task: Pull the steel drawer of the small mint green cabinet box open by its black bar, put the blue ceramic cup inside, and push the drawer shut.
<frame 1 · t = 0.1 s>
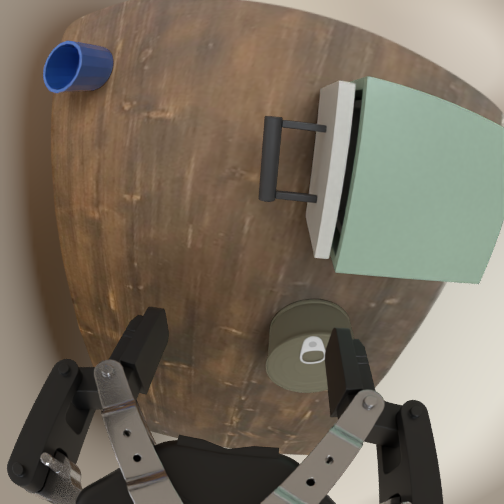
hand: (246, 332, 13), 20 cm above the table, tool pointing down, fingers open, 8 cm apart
drawer: (372, 170, 23), point 5 cm above the table, slide at 0.5 cm
can: (310, 329, 39), on the table
cup: (93, 68, 24), on the table
mint green cabinet box: (396, 167, 27), on the table
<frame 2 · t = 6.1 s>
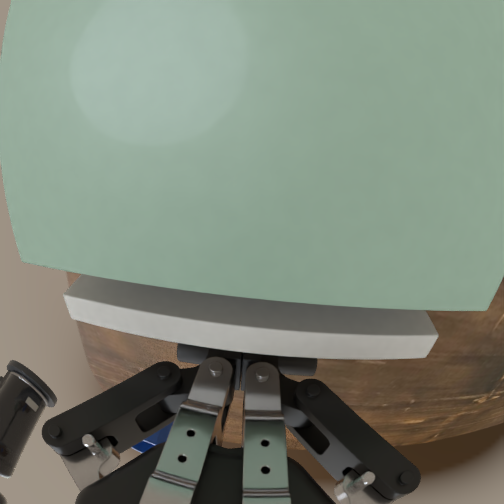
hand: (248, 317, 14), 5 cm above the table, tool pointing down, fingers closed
drawer: (264, 170, 11), point 5 cm above the table, slide at 1.8 cm
cup: (160, 406, 30), on the table
mint green cabinet box: (276, 47, 12), on the table
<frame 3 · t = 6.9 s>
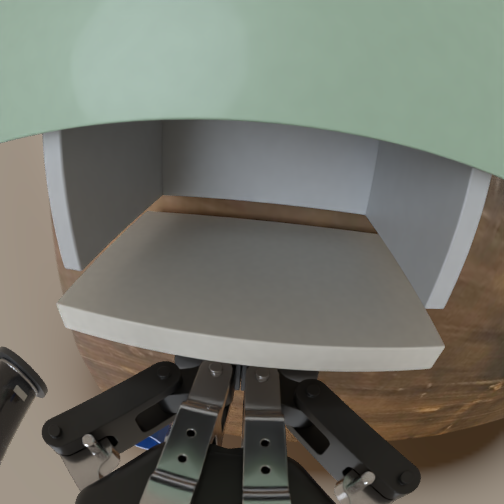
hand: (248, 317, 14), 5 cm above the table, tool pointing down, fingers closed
drawer: (264, 173, 10), point 5 cm above the table, slide at 5.8 cm, touching gripper
cup: (153, 392, 27), on the table
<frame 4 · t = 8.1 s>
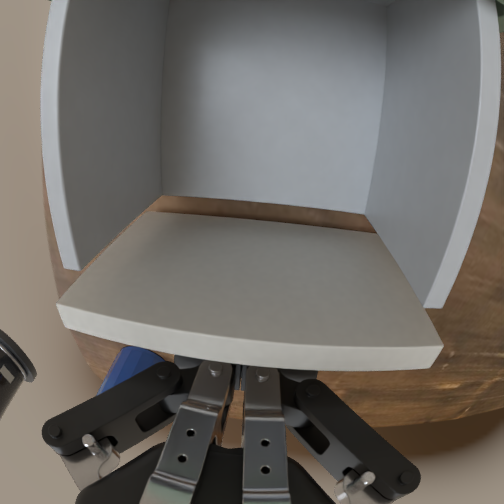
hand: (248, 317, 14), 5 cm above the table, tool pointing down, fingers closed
drawer: (262, 173, 10), point 5 cm above the table, slide at 10.8 cm
cup: (145, 365, 25), on the table
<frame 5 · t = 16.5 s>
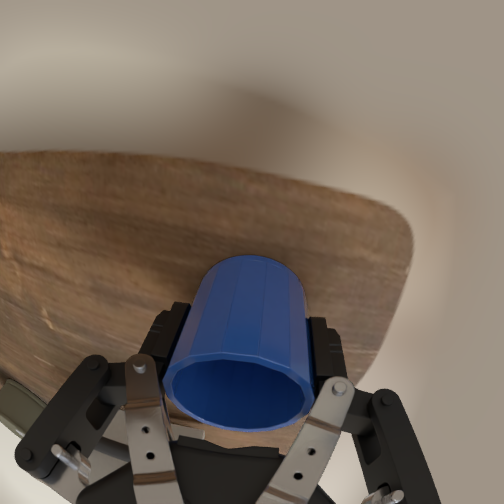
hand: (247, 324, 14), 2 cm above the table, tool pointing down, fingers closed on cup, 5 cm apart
drawer: (134, 467, 20), point 5 cm above the table, slide at 10.9 cm
can: (33, 401, 31), on the table
cup: (251, 301, 15), on the table, touching gripper
when the fingers open (8 cm above the table, at t = 23.6 s): cup drops 5 cm, resting on drawer.
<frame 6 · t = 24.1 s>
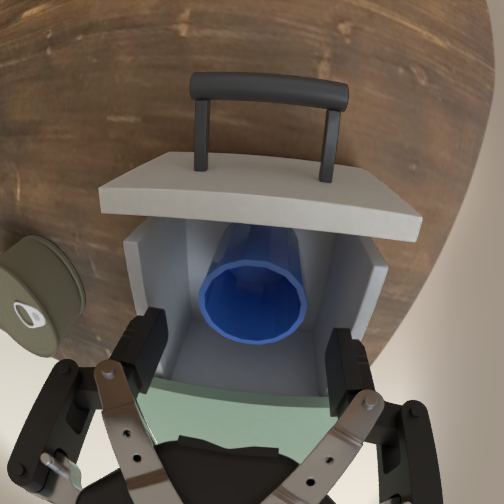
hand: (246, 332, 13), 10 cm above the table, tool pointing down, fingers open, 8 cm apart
drawer: (257, 253, 17), point 5 cm above the table, slide at 10.9 cm, touching cup
can: (48, 278, 27), on the table
cup: (259, 251, 20), point 2 cm above the table, touching drawer
mint green cabinet box: (250, 355, 29), on the table
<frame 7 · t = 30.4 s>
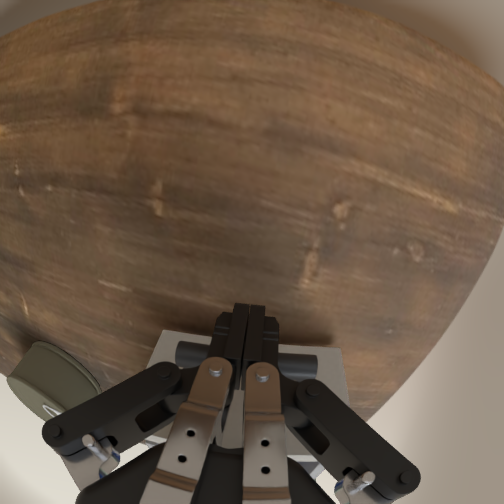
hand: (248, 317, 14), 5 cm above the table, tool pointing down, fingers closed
drawer: (242, 422, 19), point 5 cm above the table, slide at 10.7 cm, touching cup, gripper
can: (65, 371, 29), on the table
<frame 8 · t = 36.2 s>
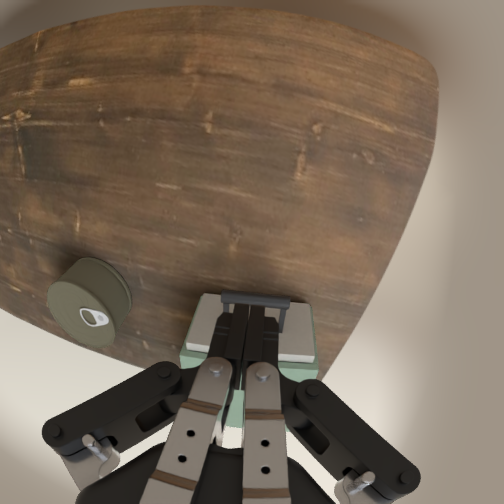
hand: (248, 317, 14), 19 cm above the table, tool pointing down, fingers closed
drawer: (250, 350, 34), point 5 cm above the table, slide at 0.0 cm, touching cup
can: (100, 288, 40), on the table
mint green cabinet box: (252, 342, 41), on the table
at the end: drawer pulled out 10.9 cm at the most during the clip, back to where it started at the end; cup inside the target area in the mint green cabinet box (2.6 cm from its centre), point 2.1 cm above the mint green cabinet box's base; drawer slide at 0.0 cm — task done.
